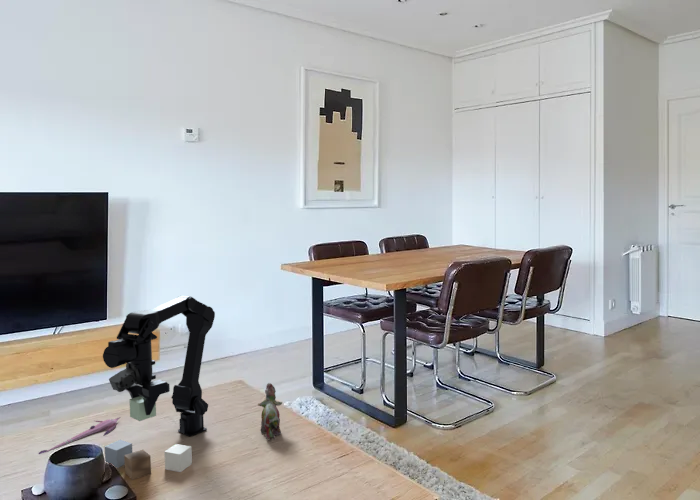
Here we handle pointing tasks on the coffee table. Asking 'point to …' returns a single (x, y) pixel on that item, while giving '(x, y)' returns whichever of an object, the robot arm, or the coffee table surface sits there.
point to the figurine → (270, 413)
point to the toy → (90, 431)
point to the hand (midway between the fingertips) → (143, 412)
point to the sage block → (140, 409)
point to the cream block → (178, 457)
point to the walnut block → (137, 464)
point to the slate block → (117, 452)
